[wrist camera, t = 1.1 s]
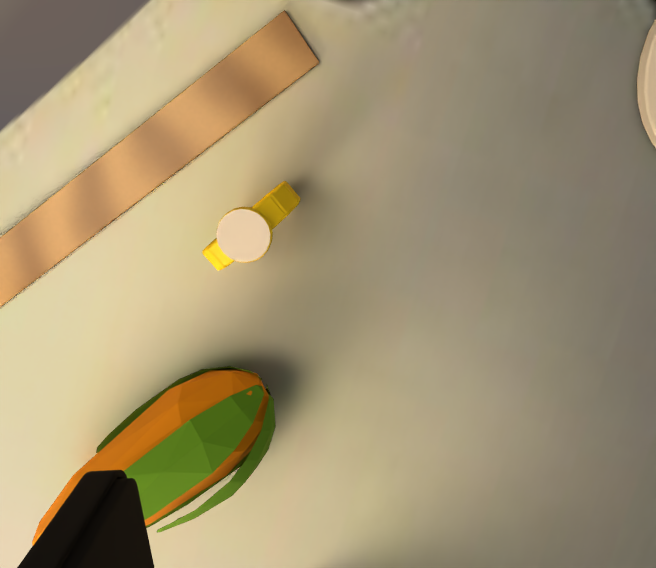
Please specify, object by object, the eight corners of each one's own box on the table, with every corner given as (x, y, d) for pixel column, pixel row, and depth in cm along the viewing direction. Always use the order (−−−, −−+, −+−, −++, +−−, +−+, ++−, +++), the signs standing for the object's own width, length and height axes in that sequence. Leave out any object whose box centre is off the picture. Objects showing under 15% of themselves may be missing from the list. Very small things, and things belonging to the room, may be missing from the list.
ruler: (285, 11, 31) (284, 10, 30) (319, 62, 31) (319, 62, 31) (-88, 308, 37) (-91, 310, 36) (-51, 346, 37) (-55, 348, 37)
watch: (237, 264, 35) (216, 294, 29) (206, 230, 34) (178, 254, 29) (311, 203, 34) (304, 222, 28) (281, 166, 33) (267, 178, 27)
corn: (299, 473, 30) (46, 645, 34) (313, 408, 38) (103, 557, 42) (207, 369, 29) (-42, 560, 33) (241, 323, 37) (33, 484, 41)
